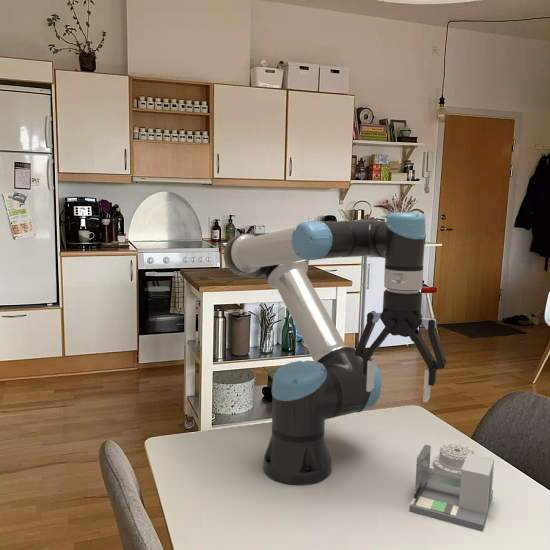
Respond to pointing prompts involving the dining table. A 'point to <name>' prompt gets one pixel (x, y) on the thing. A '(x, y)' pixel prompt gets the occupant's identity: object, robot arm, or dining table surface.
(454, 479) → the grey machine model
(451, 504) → the gauge base
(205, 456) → the dining table surface
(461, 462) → the mechanical component
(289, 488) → the dining table surface
